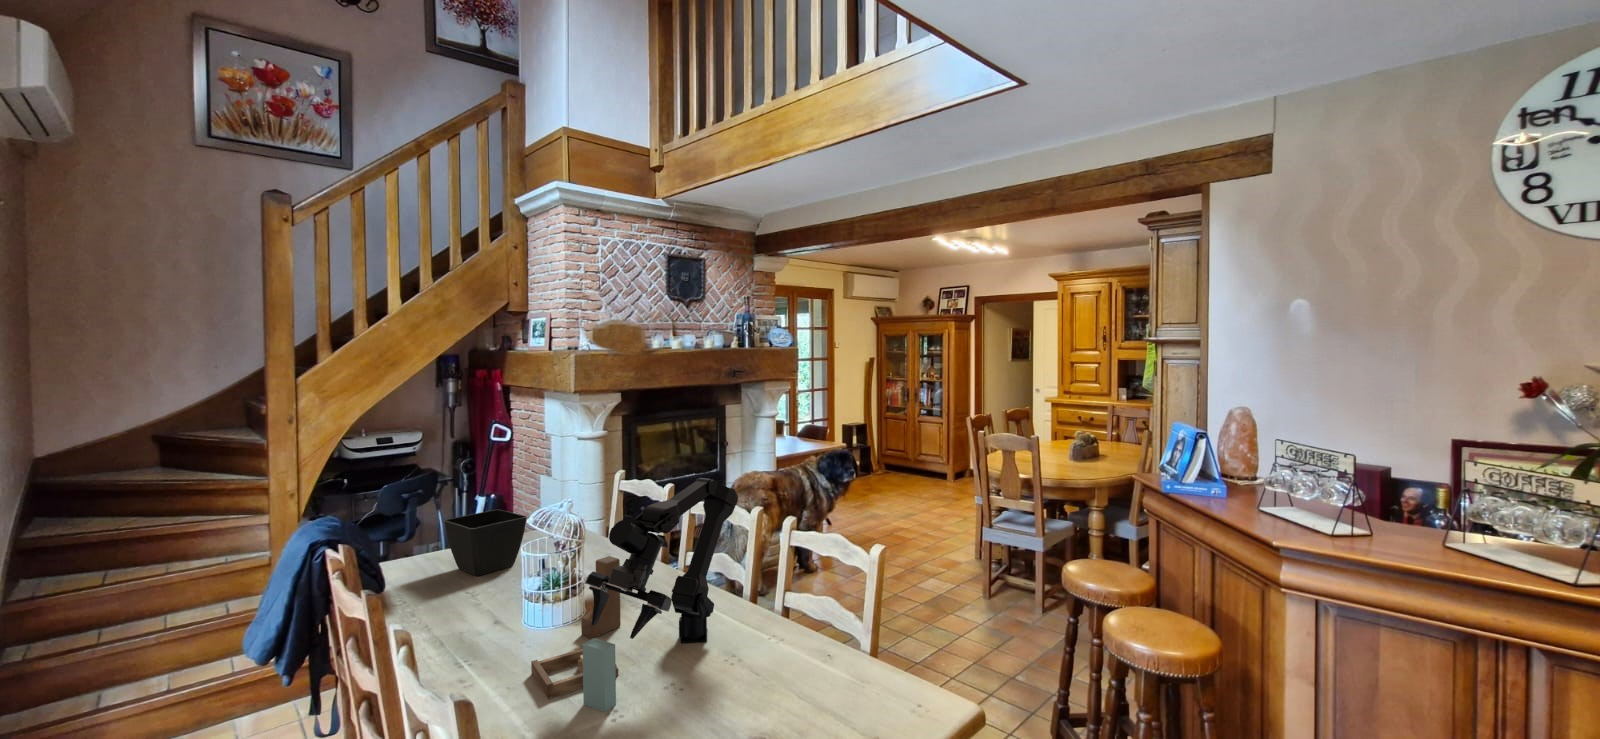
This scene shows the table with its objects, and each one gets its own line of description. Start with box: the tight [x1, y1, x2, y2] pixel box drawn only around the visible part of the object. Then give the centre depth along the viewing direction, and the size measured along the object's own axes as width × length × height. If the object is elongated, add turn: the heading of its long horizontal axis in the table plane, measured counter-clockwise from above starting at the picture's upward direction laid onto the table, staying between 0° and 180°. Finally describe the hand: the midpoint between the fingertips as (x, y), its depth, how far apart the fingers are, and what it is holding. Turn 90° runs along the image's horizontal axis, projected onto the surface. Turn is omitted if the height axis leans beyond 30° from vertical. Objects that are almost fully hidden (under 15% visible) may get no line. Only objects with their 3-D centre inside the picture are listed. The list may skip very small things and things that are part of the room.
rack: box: [530, 647, 619, 700], centre depth 138 cm, size 15×12×3 cm
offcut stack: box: [577, 655, 583, 674], centre depth 140 cm, size 5×6×3 cm
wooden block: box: [580, 555, 622, 640], centre depth 159 cm, size 9×4×18 cm, turn 144°
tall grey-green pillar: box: [582, 637, 617, 713], centre depth 126 cm, size 3×6×12 cm, turn 62°
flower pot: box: [443, 508, 528, 577], centre depth 207 cm, size 19×19×17 cm
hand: (612, 631), depth 132 cm, fingers open, 9 cm apart
